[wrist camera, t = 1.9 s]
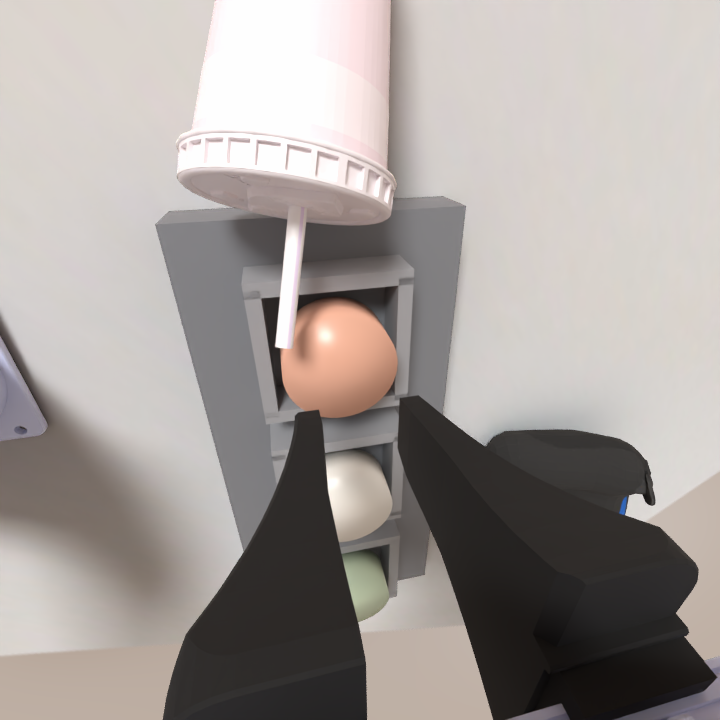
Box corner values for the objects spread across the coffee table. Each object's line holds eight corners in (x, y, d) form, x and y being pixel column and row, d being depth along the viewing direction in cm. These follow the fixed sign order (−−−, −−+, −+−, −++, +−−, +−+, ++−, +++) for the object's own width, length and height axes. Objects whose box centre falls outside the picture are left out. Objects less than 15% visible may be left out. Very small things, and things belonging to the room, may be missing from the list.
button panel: (259, 577, 30) (259, 642, 26) (168, 211, 17) (141, 238, 13) (413, 544, 32) (434, 601, 28) (442, 196, 19) (489, 215, 15)
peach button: (286, 396, 18) (288, 425, 16) (273, 302, 15) (274, 324, 14) (383, 383, 18) (395, 409, 17) (385, 291, 16) (399, 311, 14)
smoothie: (497, -164, 10) (415, 363, 13) (345, -35, 15) (305, 331, 17) (275, -511, 6) (212, 368, 9) (162, -183, 11) (142, 324, 13)
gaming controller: (492, 533, 38) (615, 554, 34) (488, 595, 34) (627, 627, 30) (488, 398, 29) (653, 407, 25) (480, 458, 25) (678, 480, 21)
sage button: (313, 598, 26) (317, 631, 24) (308, 556, 24) (312, 590, 22) (380, 583, 27) (388, 615, 25) (381, 542, 24) (390, 573, 23)
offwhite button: (302, 516, 22) (306, 549, 20) (294, 456, 19) (297, 488, 18) (381, 501, 22) (391, 532, 21) (382, 442, 20) (393, 471, 18)
